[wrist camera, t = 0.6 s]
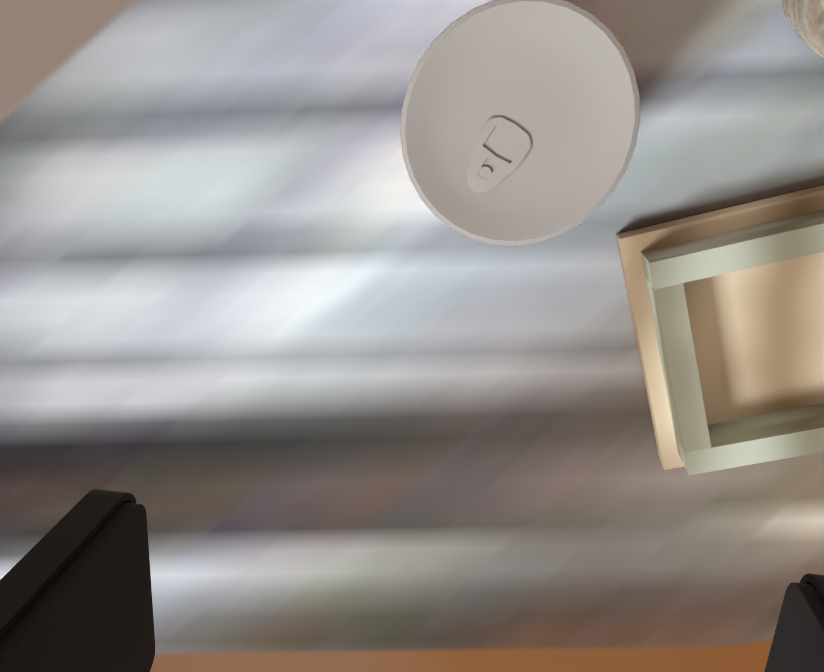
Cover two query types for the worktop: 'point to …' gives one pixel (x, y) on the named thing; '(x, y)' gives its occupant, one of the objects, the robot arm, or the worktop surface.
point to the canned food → (520, 120)
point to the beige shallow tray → (732, 331)
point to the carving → (807, 22)
